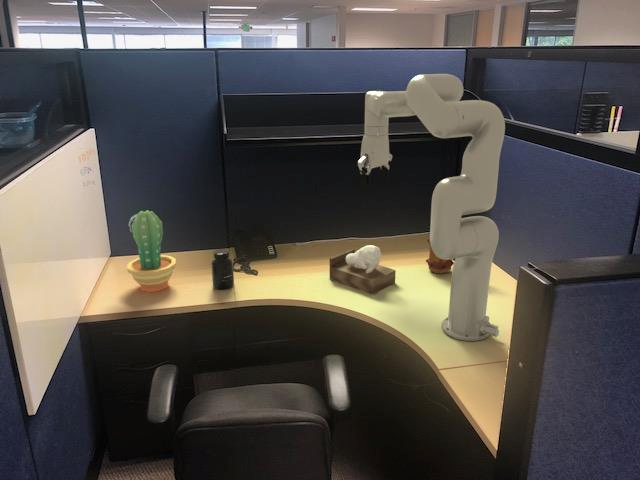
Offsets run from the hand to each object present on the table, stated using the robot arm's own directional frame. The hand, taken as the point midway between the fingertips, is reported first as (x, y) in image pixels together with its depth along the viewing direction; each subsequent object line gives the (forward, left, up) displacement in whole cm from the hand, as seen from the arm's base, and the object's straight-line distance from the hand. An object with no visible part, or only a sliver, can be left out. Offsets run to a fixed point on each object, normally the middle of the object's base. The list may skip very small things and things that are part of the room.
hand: (374, 183), depth 170 cm
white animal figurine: (-4, +12, -26) cm, 29 cm away
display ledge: (-4, +11, -30) cm, 32 cm away
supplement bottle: (+27, +44, -31) cm, 60 cm away
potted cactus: (+44, +59, -31) cm, 80 cm away
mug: (-21, -14, -31) cm, 40 cm away
